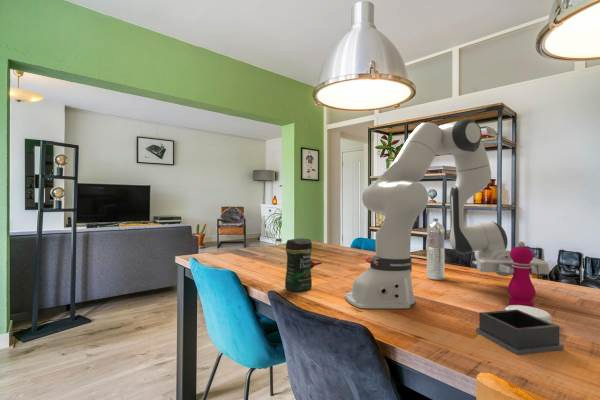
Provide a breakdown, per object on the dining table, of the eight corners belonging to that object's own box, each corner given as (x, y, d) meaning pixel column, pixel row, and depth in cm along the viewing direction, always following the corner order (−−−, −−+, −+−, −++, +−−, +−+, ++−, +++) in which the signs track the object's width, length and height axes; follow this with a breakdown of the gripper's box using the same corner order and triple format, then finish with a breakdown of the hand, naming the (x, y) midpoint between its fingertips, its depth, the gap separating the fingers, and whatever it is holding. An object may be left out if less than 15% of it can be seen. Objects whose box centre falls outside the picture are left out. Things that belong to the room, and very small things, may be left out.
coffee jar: (294, 293, 112) (294, 240, 112) (281, 288, 118) (281, 238, 118) (315, 289, 118) (315, 238, 118) (302, 284, 124) (302, 236, 124)
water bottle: (446, 280, 130) (446, 219, 130) (428, 280, 131) (429, 219, 131) (441, 276, 136) (442, 218, 136) (425, 276, 138) (425, 218, 137)
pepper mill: (540, 310, 95) (540, 243, 95) (513, 309, 96) (513, 242, 96) (528, 303, 102) (528, 240, 102) (503, 301, 104) (503, 239, 103)
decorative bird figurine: (294, 270, 148) (294, 248, 148) (324, 276, 136) (324, 253, 136) (289, 271, 146) (289, 249, 146) (320, 278, 134) (320, 254, 134)
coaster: (497, 319, 89) (497, 307, 89) (520, 314, 93) (520, 302, 93) (536, 333, 79) (536, 319, 79) (559, 327, 84) (559, 314, 83)
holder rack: (517, 354, 68) (517, 331, 68) (476, 331, 80) (476, 311, 80) (563, 349, 71) (563, 327, 71) (516, 328, 82) (516, 308, 82)
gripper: (470, 252, 114) (486, 259, 100) (534, 254, 110) (559, 262, 97) (470, 270, 114) (486, 279, 100) (534, 272, 110) (559, 282, 97)
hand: (522, 271), depth 98 cm, fingers closed on pepper mill, 5 cm apart
